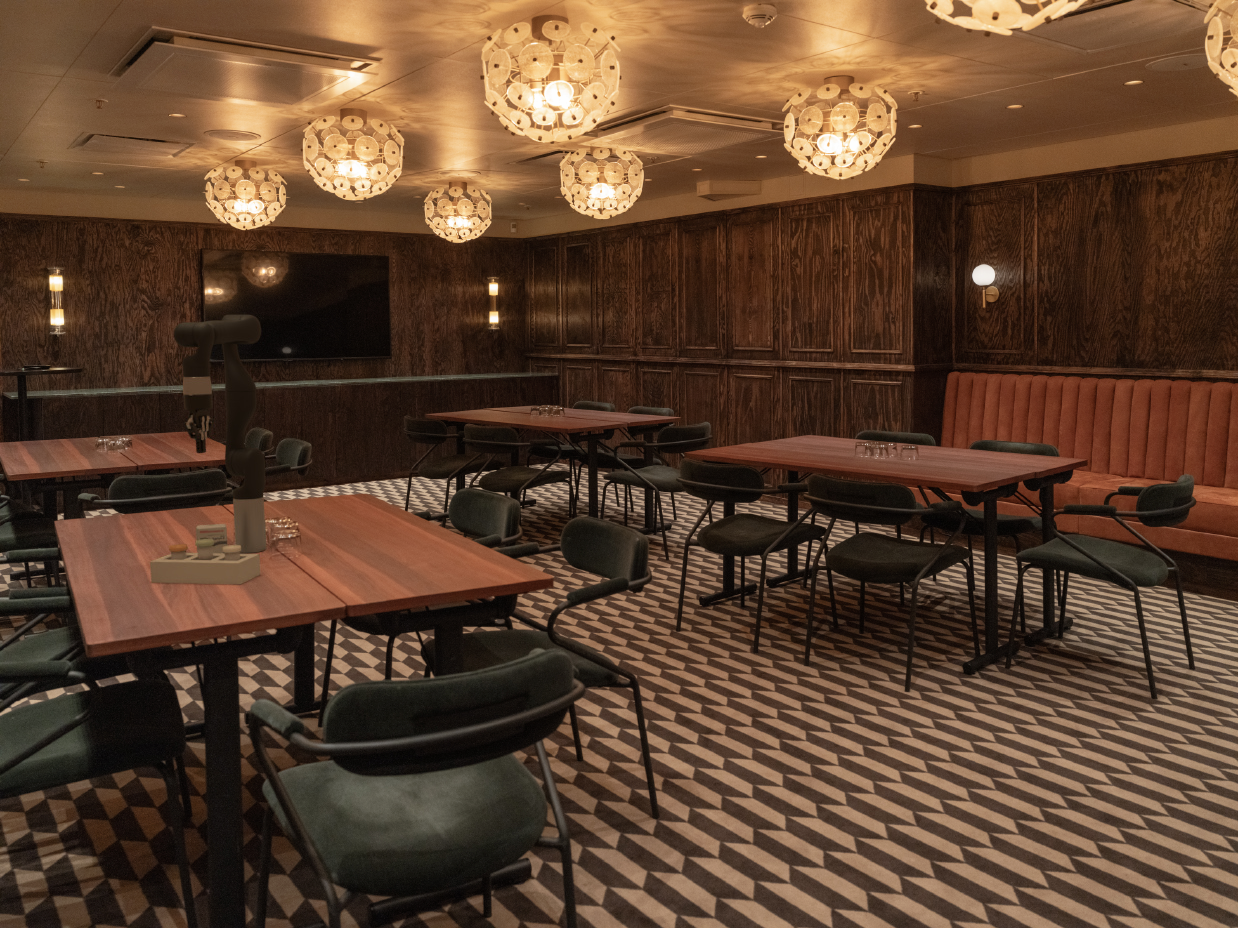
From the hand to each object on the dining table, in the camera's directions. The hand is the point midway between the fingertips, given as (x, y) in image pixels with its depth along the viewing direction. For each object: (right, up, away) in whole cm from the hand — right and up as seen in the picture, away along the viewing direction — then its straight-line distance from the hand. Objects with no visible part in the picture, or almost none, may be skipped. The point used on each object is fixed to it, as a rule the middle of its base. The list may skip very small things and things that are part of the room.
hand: (201, 452), depth 283 cm
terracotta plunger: (-5, -35, -3) cm, 35 cm away
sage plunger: (+3, -33, -4) cm, 33 cm away
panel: (+3, -36, -4) cm, 36 cm away
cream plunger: (+11, -35, -5) cm, 37 cm away
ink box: (-3, -34, +15) cm, 37 cm away
